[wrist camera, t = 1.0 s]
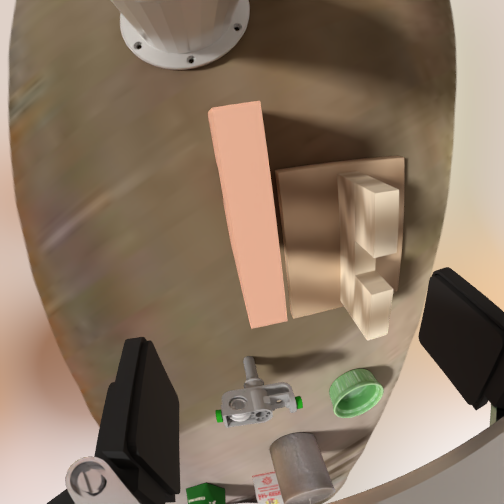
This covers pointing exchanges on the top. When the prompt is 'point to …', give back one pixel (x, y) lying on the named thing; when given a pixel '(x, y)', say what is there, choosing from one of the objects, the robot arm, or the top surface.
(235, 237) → the salmon pink flat slab
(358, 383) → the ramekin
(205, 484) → the milk carton
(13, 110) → the top surface
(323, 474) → the pillar candle
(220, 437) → the top surface
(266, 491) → the white cardboard box
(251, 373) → the mechanical component
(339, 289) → the slotted stand
